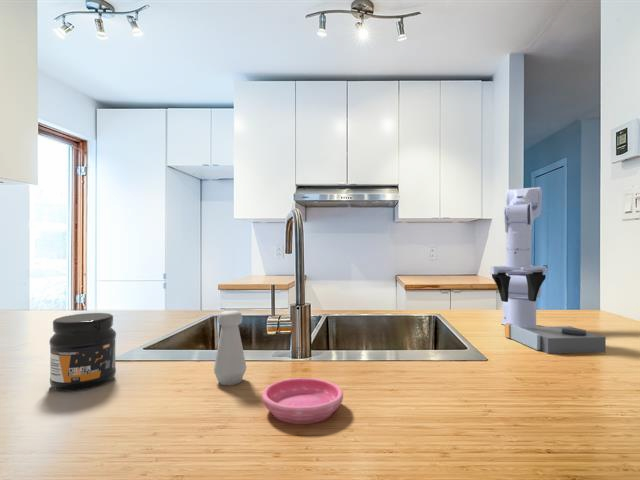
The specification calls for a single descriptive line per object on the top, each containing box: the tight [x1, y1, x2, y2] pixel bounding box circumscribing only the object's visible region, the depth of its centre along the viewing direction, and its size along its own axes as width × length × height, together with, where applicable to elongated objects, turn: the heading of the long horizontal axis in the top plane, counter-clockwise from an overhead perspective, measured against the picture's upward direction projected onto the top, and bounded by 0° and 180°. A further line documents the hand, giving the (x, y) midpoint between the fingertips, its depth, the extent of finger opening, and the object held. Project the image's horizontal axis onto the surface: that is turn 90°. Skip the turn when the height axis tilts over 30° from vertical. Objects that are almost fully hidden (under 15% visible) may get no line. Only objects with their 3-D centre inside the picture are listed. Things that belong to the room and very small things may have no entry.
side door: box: [504, 323, 541, 351], centre depth 98 cm, size 13×1×4 cm, turn 4°
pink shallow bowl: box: [261, 377, 344, 425], centre depth 60 cm, size 12×12×3 cm
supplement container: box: [49, 312, 117, 392], centre depth 72 cm, size 10×10×12 cm
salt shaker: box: [213, 309, 247, 386], centre depth 72 cm, size 6×6×13 cm
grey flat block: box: [520, 325, 607, 355], centre depth 95 cm, size 12×14×4 cm
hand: (518, 301), depth 103 cm, fingers open, 7 cm apart
